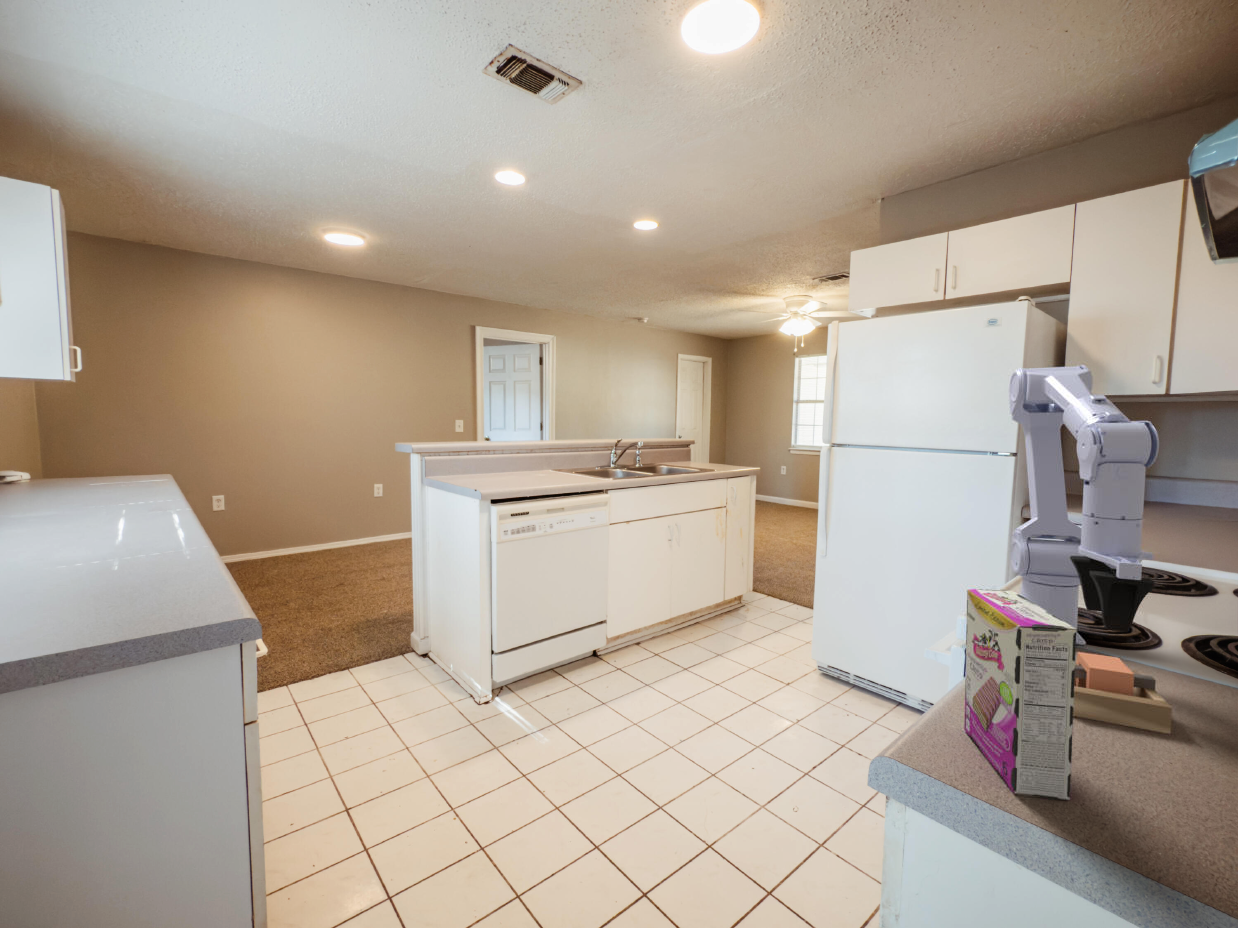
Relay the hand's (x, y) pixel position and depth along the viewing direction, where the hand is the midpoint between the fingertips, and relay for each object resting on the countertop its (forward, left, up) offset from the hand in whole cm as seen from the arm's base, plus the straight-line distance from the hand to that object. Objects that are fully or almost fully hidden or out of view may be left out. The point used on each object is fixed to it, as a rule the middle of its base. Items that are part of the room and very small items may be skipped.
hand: (1106, 619), depth 69 cm
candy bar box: (+25, -13, -9) cm, 30 cm away
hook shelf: (+6, -1, -9) cm, 11 cm away
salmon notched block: (+6, -1, -8) cm, 10 cm away
